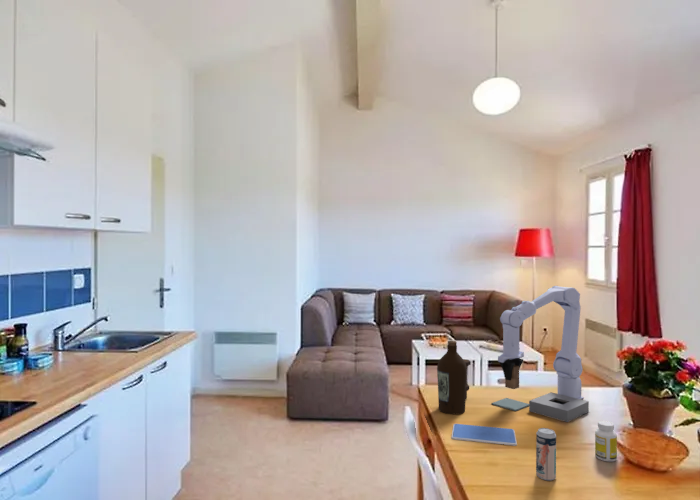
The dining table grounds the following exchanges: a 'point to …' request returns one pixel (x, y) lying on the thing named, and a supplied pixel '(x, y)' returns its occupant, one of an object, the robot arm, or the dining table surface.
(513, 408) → the mat
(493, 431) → the tablet computer
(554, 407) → the grey flat block
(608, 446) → the supplement bottle
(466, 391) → the bolt
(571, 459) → the dining table surface
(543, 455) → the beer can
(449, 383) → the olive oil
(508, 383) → the tall wooden block
